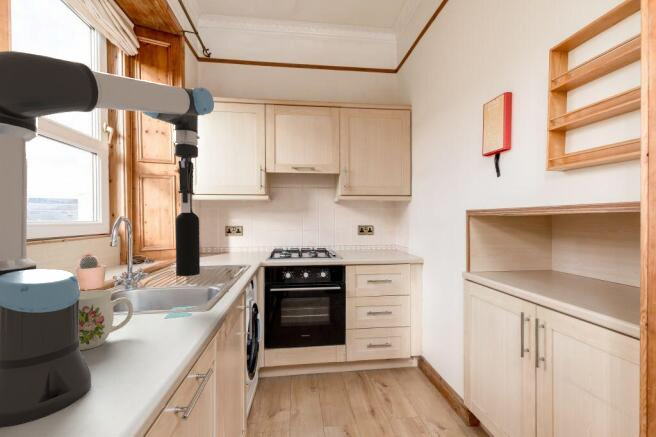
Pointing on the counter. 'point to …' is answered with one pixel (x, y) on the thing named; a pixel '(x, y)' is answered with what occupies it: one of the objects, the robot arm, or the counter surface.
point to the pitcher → (98, 317)
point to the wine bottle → (187, 243)
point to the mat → (182, 314)
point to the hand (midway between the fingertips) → (186, 212)
